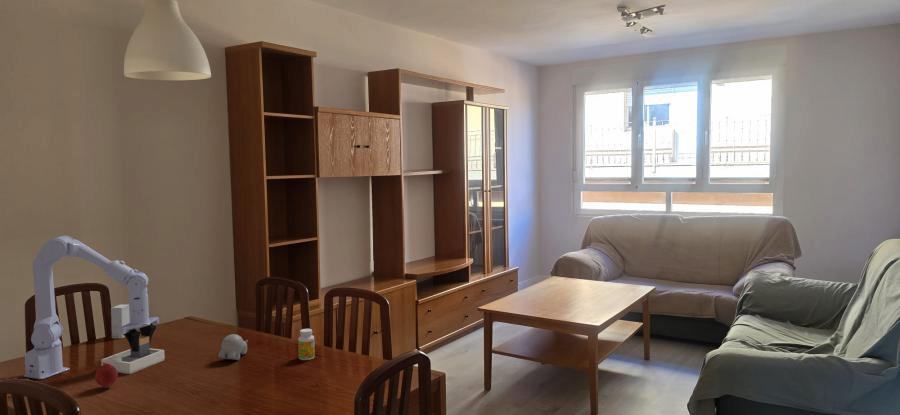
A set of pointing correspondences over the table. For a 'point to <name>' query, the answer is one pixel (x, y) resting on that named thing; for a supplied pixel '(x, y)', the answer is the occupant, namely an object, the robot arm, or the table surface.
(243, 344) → the chubby cartoon animal
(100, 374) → the onion
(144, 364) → the walled box
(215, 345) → the table surface
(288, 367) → the table surface
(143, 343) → the block
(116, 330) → the skincare box
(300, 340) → the supplement bottle
